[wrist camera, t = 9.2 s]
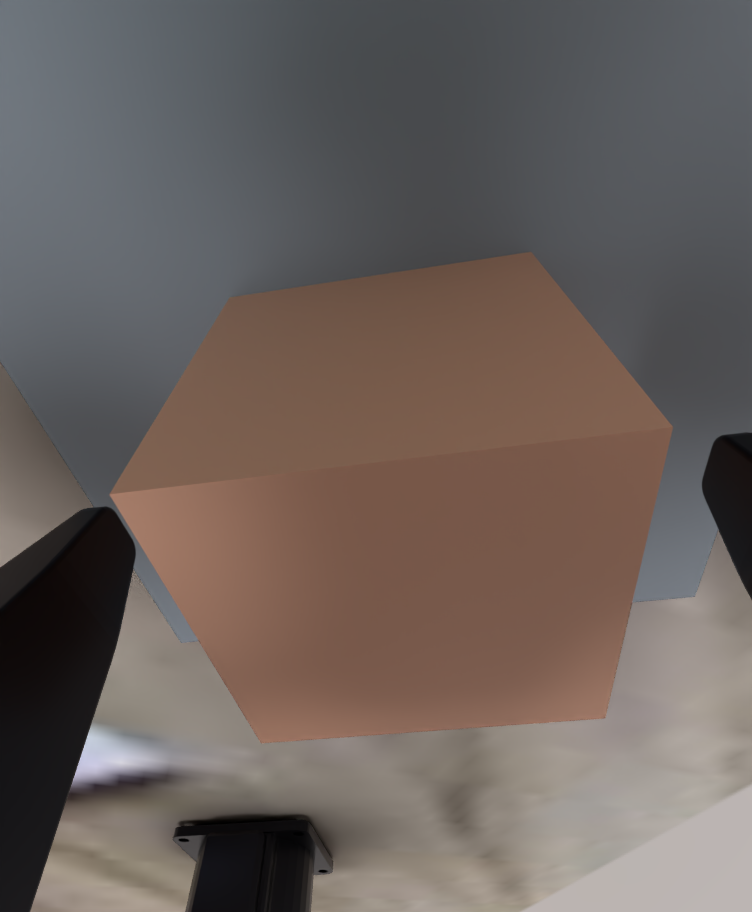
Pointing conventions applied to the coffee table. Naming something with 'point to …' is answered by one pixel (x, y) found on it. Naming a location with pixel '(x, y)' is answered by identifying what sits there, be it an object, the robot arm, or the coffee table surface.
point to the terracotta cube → (403, 502)
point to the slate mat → (374, 196)
